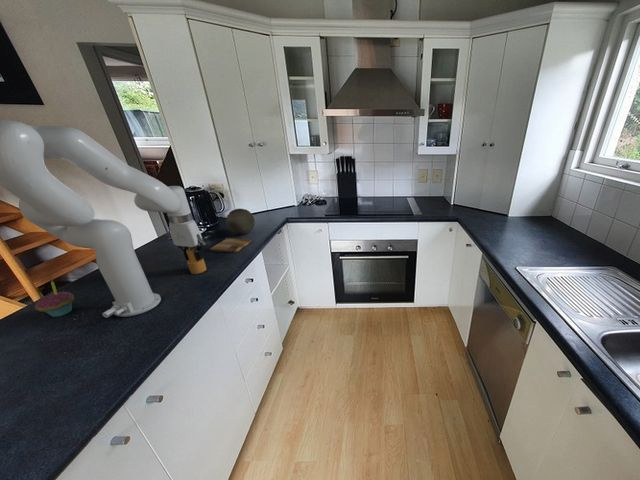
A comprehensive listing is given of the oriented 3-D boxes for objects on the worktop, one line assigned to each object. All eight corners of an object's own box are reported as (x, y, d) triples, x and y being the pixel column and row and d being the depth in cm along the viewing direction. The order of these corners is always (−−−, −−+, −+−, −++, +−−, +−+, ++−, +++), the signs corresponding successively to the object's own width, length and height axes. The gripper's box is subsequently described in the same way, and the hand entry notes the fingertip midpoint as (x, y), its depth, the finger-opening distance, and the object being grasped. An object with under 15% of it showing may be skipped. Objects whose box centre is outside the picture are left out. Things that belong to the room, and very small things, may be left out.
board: (235, 252, 135) (235, 250, 134) (209, 250, 136) (209, 248, 136) (251, 241, 147) (251, 239, 147) (227, 240, 149) (227, 237, 148)
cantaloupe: (227, 234, 157) (220, 208, 150) (252, 228, 165) (247, 204, 159) (234, 241, 147) (227, 214, 141) (261, 235, 156) (255, 209, 149)
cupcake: (78, 302, 97) (60, 273, 92) (81, 311, 92) (63, 281, 87) (41, 313, 91) (21, 283, 86) (43, 324, 86) (21, 293, 81)
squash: (199, 274, 115) (192, 251, 111) (187, 273, 116) (178, 250, 111) (209, 267, 121) (202, 245, 116) (197, 266, 121) (189, 244, 117)
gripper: (153, 220, 106) (169, 261, 114) (193, 222, 104) (206, 264, 112) (169, 214, 112) (183, 254, 120) (207, 216, 110) (218, 256, 118)
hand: (194, 258), depth 116 cm, fingers closed on squash, 4 cm apart
